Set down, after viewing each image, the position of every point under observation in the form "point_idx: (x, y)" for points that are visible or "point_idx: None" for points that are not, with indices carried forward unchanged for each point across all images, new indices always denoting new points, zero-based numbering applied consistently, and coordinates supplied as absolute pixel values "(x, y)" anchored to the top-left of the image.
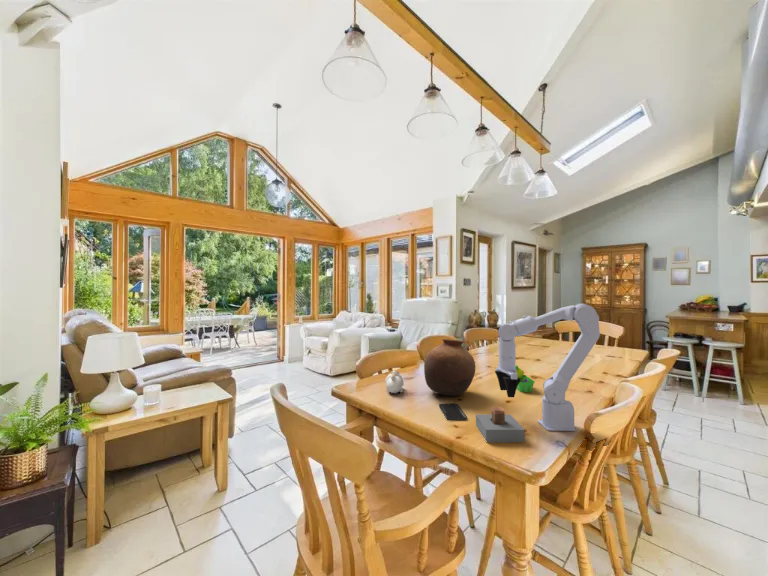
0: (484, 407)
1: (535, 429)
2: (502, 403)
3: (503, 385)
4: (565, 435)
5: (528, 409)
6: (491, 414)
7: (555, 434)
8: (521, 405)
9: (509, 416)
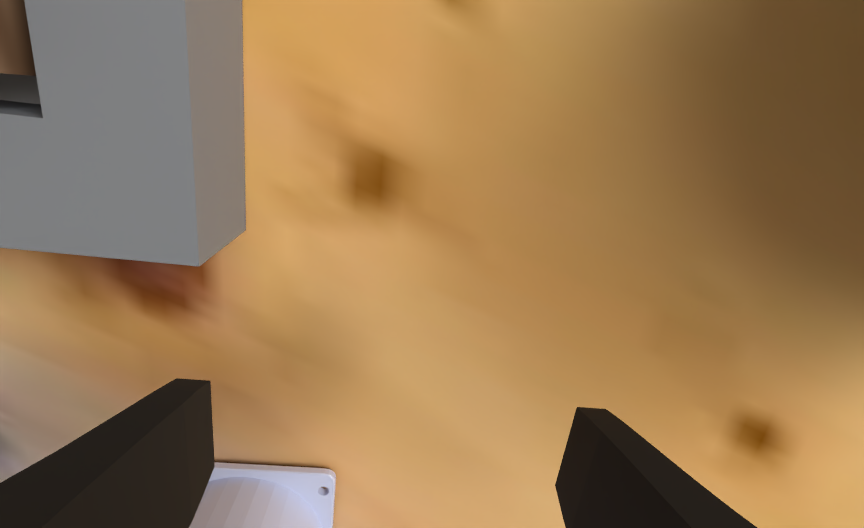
0: (706, 176)
1: None
2: (735, 378)
3: (608, 522)
4: None
5: None
6: (185, 14)
7: None
8: None
9: (134, 229)
